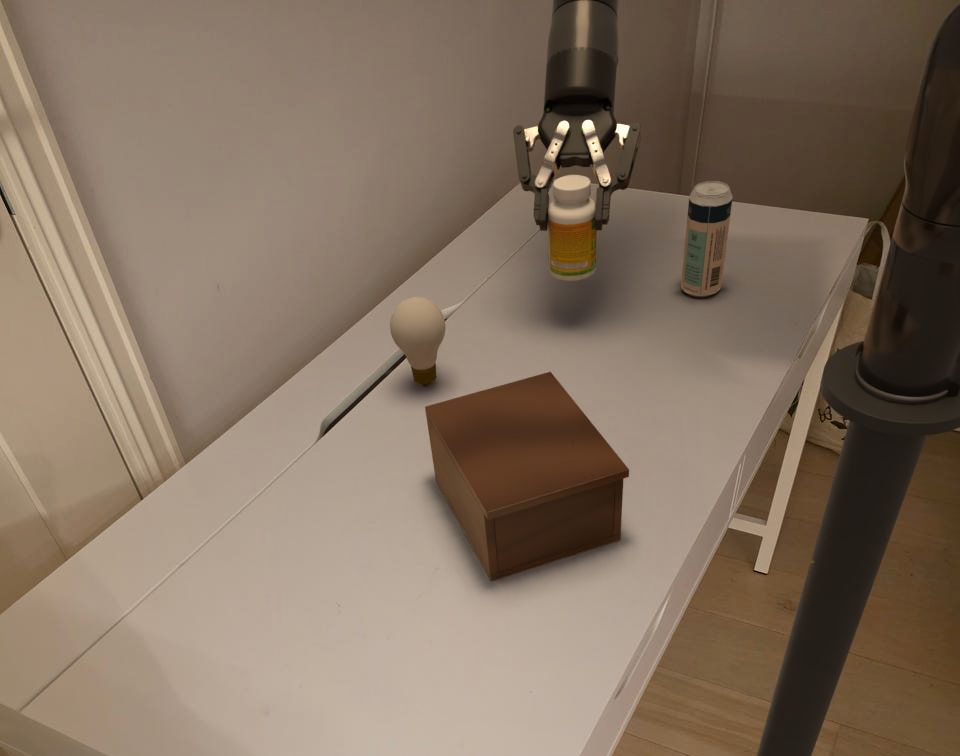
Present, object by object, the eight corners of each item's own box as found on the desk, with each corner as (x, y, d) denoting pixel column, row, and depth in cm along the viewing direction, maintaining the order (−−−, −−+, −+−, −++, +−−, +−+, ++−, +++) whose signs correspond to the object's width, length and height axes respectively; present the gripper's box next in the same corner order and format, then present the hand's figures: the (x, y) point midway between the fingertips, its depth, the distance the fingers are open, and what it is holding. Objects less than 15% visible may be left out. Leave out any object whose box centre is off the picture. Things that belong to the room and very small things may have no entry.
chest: (620, 540, 79) (624, 471, 73) (490, 581, 77) (483, 513, 71) (552, 446, 89) (550, 379, 83) (435, 480, 87) (425, 414, 81)
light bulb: (404, 370, 101) (391, 287, 94) (455, 369, 100) (445, 285, 93) (396, 399, 97) (381, 315, 90) (448, 399, 96) (438, 313, 89)
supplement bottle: (600, 279, 99) (601, 189, 91) (552, 284, 99) (549, 195, 91) (592, 257, 102) (593, 169, 95) (546, 262, 102) (543, 175, 95)
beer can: (721, 281, 109) (734, 179, 100) (719, 300, 106) (732, 197, 97) (682, 279, 110) (691, 179, 101) (678, 298, 107) (688, 196, 98)
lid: (629, 477, 73) (629, 469, 72) (487, 520, 71) (487, 512, 70) (550, 378, 83) (550, 371, 83) (425, 413, 81) (424, 406, 81)
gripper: (510, 47, 91) (500, 214, 93) (649, 40, 89) (637, 212, 90) (519, 87, 99) (510, 241, 100) (649, 82, 96) (638, 240, 97)
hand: (570, 227), depth 95 cm, fingers closed on supplement bottle, 5 cm apart
